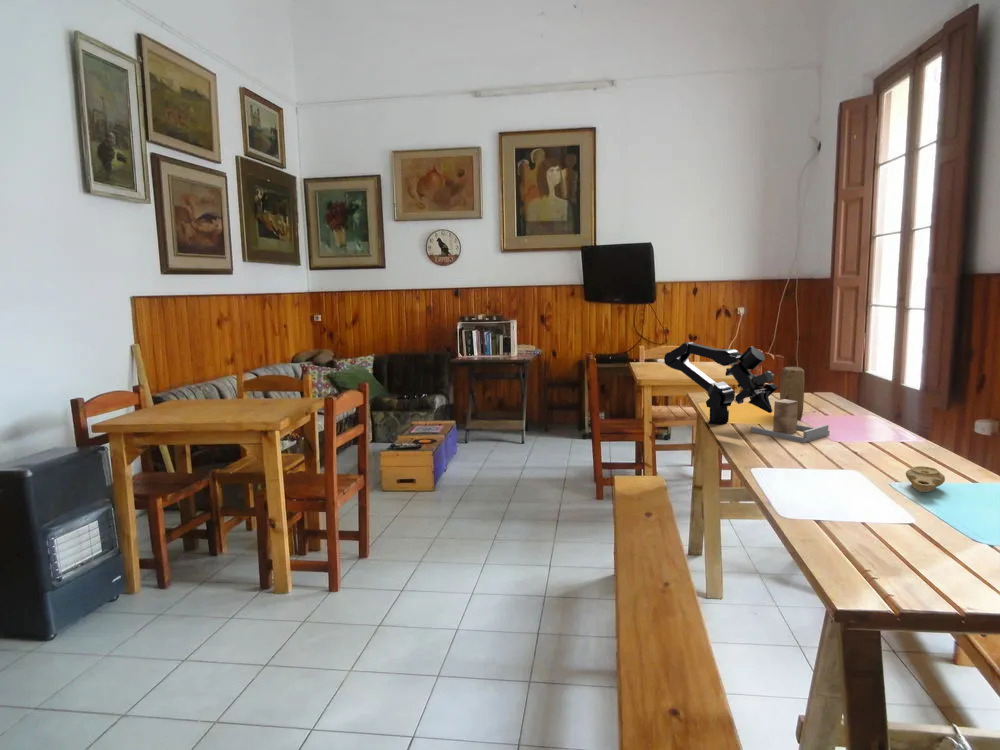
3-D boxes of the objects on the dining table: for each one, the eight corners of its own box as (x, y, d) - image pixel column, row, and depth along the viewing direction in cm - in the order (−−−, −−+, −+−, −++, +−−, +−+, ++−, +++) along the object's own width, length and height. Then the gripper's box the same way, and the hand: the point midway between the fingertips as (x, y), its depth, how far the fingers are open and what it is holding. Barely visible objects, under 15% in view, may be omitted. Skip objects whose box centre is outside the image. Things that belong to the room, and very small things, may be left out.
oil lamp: (917, 499, 159) (918, 480, 158) (889, 480, 173) (891, 463, 172) (962, 500, 157) (964, 480, 156) (931, 481, 171) (933, 463, 170)
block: (803, 421, 241) (806, 369, 237) (782, 420, 242) (785, 369, 239) (797, 415, 251) (800, 365, 248) (777, 414, 253) (779, 365, 250)
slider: (773, 432, 220) (774, 401, 218) (782, 429, 223) (784, 399, 221) (786, 434, 216) (788, 403, 214) (796, 432, 219) (797, 401, 217)
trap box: (750, 435, 222) (751, 421, 221) (776, 428, 231) (776, 415, 230) (804, 447, 206) (804, 432, 205) (829, 439, 215) (830, 424, 214)
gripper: (744, 366, 219) (771, 402, 212) (774, 361, 230) (801, 395, 223) (723, 385, 227) (749, 421, 220) (753, 380, 237) (779, 413, 230)
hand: (771, 412), depth 223 cm, fingers closed
